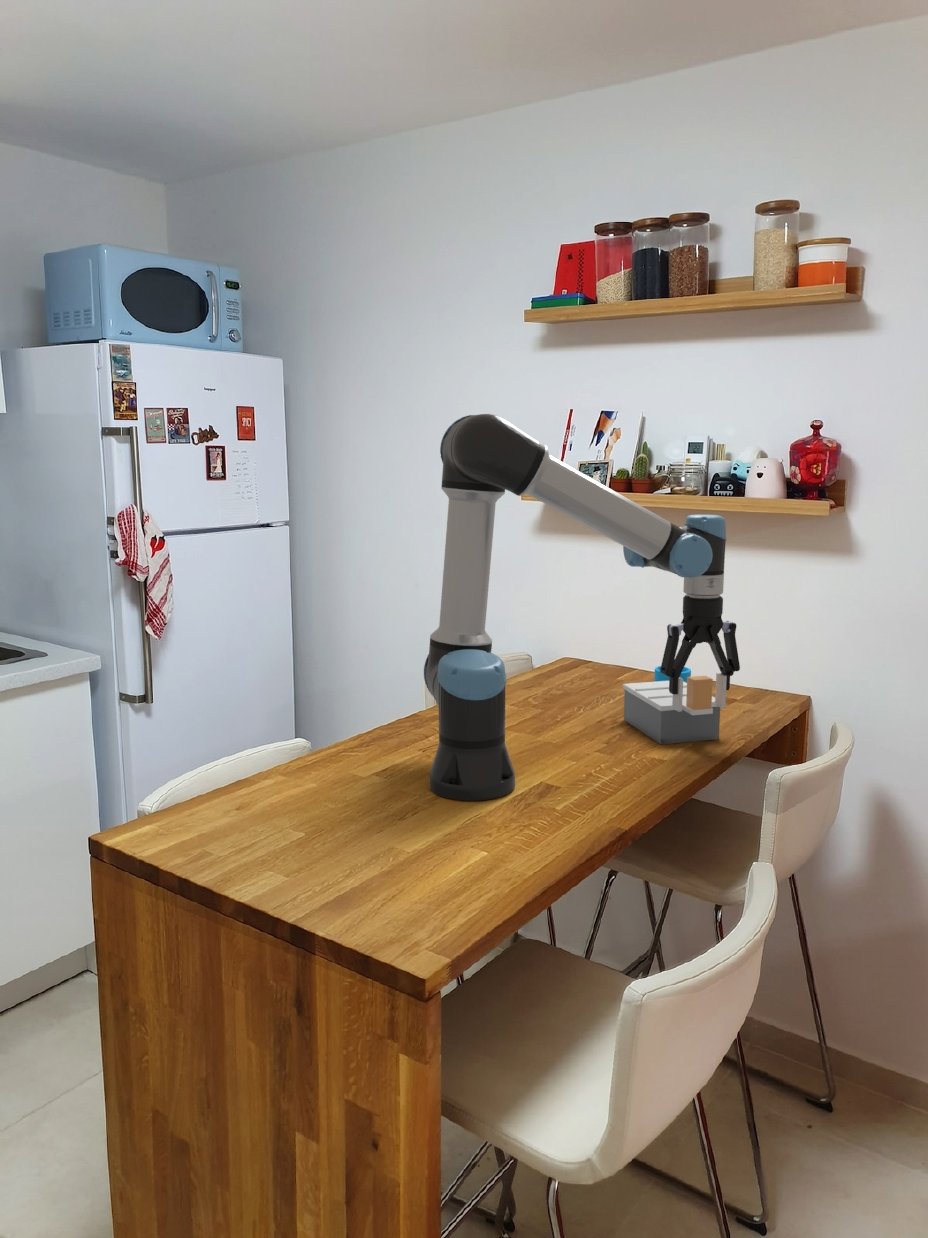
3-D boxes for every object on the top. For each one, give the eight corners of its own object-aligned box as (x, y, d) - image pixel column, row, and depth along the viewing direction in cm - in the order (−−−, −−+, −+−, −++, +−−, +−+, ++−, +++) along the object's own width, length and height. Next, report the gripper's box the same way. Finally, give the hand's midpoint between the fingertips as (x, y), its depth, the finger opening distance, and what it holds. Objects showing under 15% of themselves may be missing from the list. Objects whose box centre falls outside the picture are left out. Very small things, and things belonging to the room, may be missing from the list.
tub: (660, 744, 192) (661, 710, 191) (623, 719, 209) (624, 688, 208) (718, 739, 195) (720, 705, 194) (678, 715, 212) (679, 684, 211)
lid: (670, 717, 186) (671, 682, 185) (622, 688, 208) (623, 657, 207) (733, 711, 189) (735, 677, 188) (679, 684, 211) (680, 653, 210)
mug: (684, 710, 217) (685, 674, 215) (649, 705, 221) (650, 671, 219) (698, 697, 227) (699, 664, 226) (664, 693, 231) (665, 660, 229)
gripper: (660, 600, 179) (657, 717, 183) (763, 595, 184) (757, 709, 188) (643, 594, 186) (640, 707, 190) (742, 589, 191) (737, 699, 195)
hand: (698, 707), depth 189 cm, fingers open, 9 cm apart
